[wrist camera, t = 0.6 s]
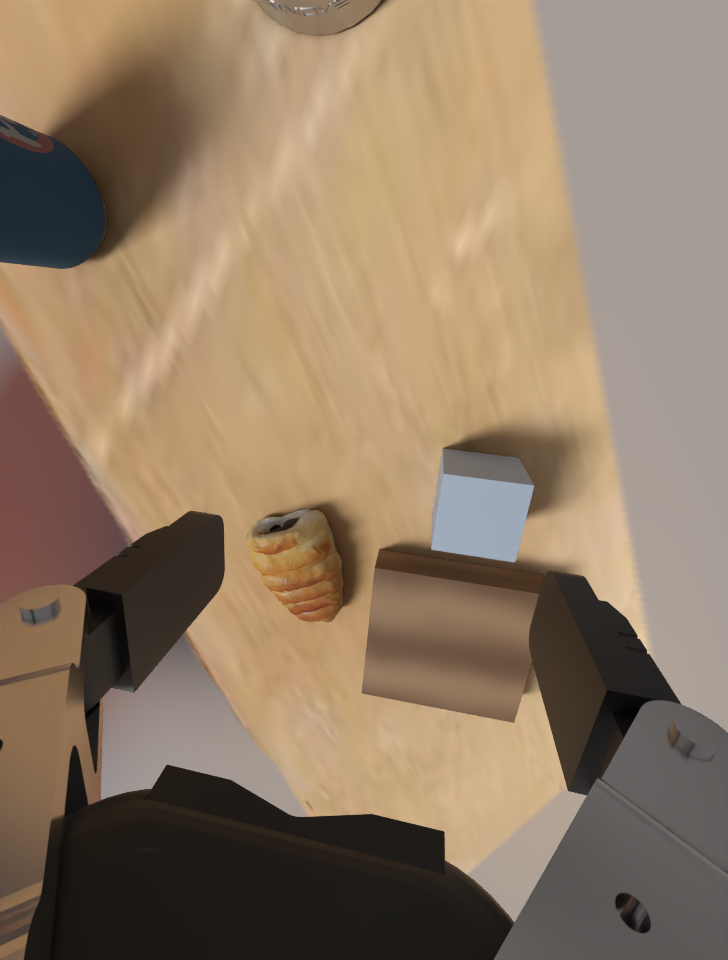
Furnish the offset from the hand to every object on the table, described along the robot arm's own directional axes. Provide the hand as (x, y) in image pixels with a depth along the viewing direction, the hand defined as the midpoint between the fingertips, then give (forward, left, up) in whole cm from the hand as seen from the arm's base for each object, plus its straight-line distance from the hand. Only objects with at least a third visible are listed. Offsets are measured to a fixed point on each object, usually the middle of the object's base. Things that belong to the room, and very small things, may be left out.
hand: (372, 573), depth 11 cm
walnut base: (+17, +5, -20) cm, 26 cm away
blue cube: (+5, +5, -19) cm, 21 cm away
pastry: (+12, -7, -20) cm, 24 cm away
